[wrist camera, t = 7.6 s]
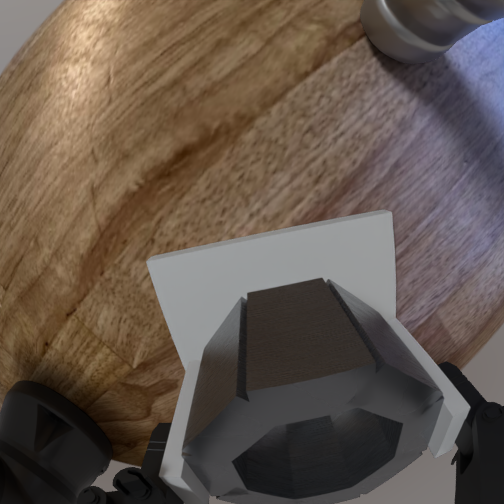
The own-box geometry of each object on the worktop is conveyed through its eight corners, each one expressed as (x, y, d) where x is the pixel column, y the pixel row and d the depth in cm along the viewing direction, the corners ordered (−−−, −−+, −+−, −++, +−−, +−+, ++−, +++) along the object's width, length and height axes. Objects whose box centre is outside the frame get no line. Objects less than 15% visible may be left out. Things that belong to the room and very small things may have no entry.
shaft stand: (193, 373, 22) (176, 445, 14) (151, 256, 19) (103, 304, 12) (388, 333, 21) (432, 391, 14) (383, 209, 18) (449, 233, 11)
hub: (233, 429, 15) (229, 516, 9) (186, 303, 12) (146, 399, 7) (377, 399, 14) (413, 477, 8) (379, 264, 12) (459, 331, 6)
